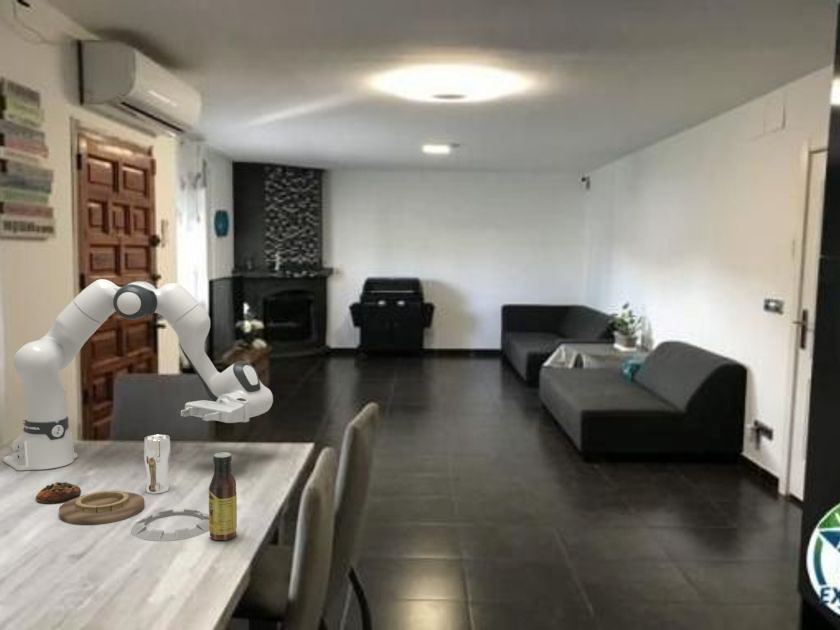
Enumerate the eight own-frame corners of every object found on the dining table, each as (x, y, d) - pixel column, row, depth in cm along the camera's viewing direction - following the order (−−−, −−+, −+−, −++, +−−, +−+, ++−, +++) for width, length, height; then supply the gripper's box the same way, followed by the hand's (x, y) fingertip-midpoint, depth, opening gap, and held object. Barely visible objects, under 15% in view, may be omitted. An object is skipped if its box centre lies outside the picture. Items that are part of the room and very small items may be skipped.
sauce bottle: (212, 531, 170) (211, 449, 168) (238, 531, 170) (238, 449, 169) (206, 542, 163) (205, 457, 162) (234, 542, 164) (233, 457, 162)
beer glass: (162, 495, 195) (161, 441, 193) (139, 493, 196) (138, 439, 195) (175, 487, 201) (175, 435, 200) (153, 485, 203) (152, 433, 202)
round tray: (42, 513, 180) (42, 501, 179) (114, 492, 196) (114, 481, 196) (89, 531, 169) (88, 518, 168) (160, 507, 185) (160, 496, 185)
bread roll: (63, 506, 185) (60, 486, 185) (26, 507, 187) (24, 489, 187) (91, 493, 196) (89, 475, 196) (56, 495, 198) (54, 477, 198)
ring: (219, 511, 185) (219, 504, 184) (210, 541, 166) (210, 532, 165) (140, 514, 181) (140, 507, 181) (122, 545, 162) (122, 536, 162)
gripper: (206, 393, 224) (169, 400, 213) (252, 401, 213) (216, 409, 202) (206, 413, 225) (169, 421, 213) (252, 422, 214) (216, 431, 202)
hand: (192, 415), depth 207 cm, fingers open, 8 cm apart
